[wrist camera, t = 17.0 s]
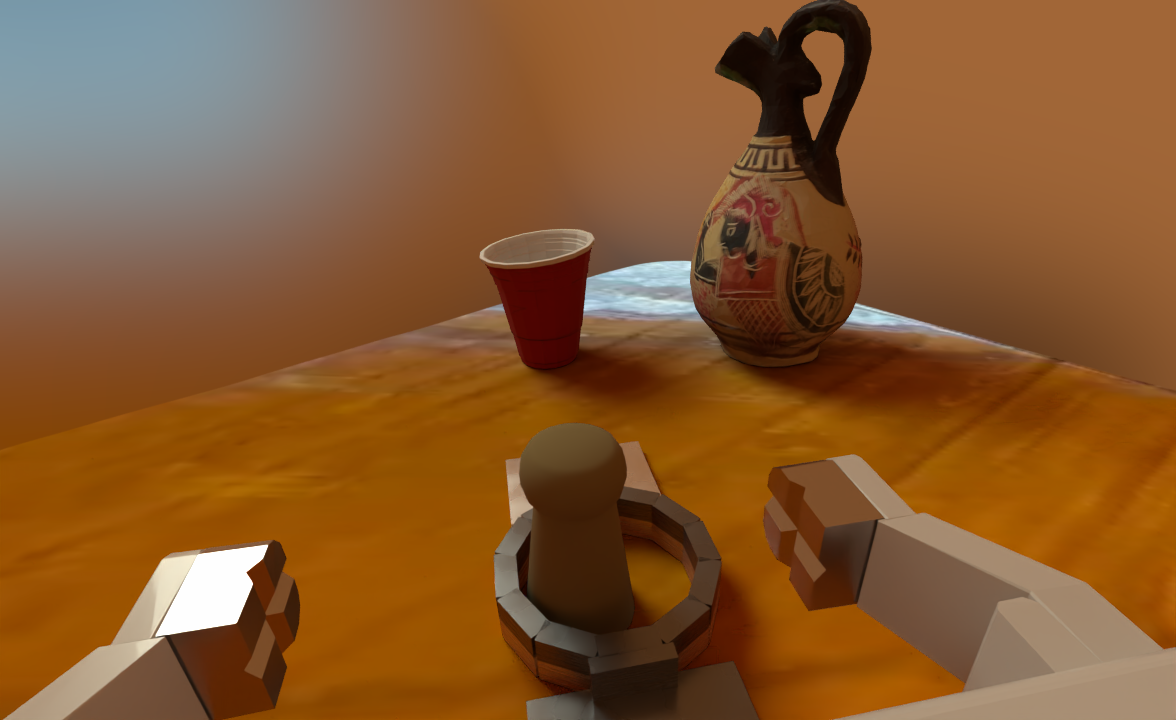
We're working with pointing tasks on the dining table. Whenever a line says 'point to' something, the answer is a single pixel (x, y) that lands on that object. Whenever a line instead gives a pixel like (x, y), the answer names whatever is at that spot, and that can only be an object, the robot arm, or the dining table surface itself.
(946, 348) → the dining table surface
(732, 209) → the ceramic jug
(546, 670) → the ring
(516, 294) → the plastic cup
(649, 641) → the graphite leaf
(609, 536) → the cork
